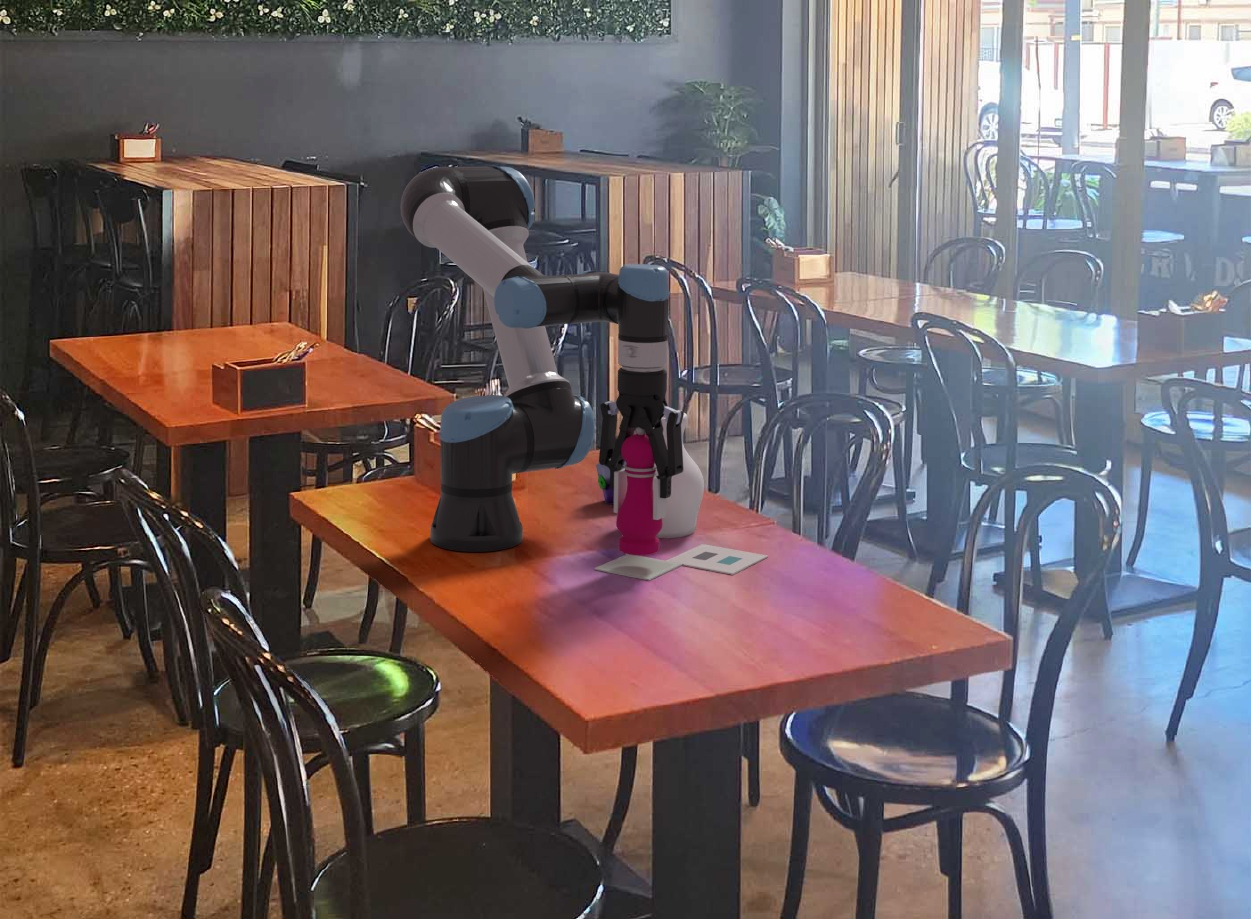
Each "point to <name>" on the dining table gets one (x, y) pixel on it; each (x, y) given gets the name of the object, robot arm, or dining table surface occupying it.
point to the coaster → (638, 567)
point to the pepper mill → (638, 498)
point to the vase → (682, 495)
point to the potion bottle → (606, 481)
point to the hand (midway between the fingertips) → (639, 514)
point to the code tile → (717, 559)
